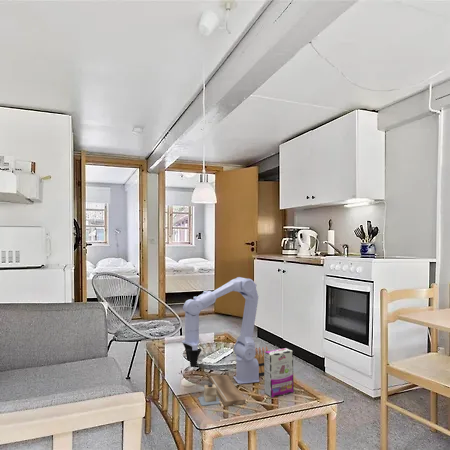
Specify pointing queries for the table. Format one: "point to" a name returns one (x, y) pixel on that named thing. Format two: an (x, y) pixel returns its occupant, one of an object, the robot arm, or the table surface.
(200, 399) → the slate mat
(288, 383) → the candy bar box
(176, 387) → the table surface
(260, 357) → the ammunition clip
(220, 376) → the walnut board
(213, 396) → the block
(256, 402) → the table surface
